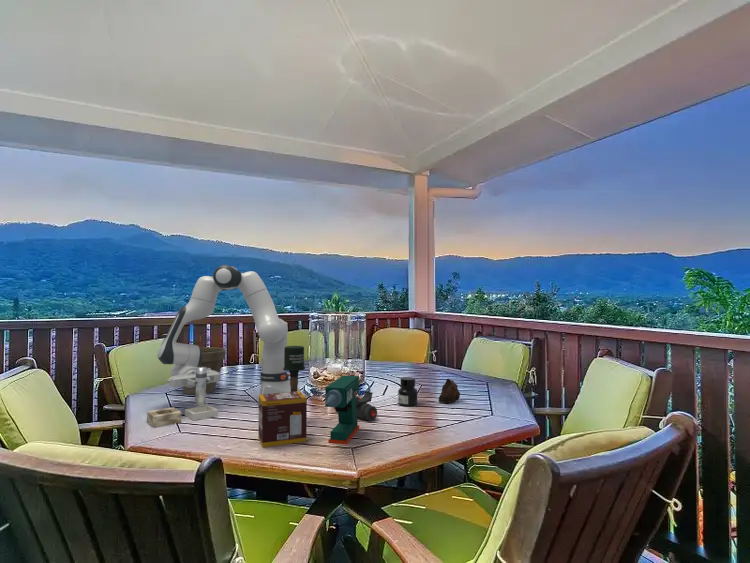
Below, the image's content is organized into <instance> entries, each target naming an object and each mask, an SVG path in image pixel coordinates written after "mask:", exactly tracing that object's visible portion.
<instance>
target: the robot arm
mask: <svg viewBox="0 0 750 563" xmlns="http://www.w3.org/2000/svg"><path fill="white" fill-rule="evenodd" d="M236 289H239V291H240V292H241V294H242V296H243V298H244V300H245V302H246V303H247V306H248V308H249V310H250V312H251V315H252V318H253V321H254V324H255V327H256V329H257V332H258V337H259V339H260V340H261V341H262V342H263V346H262V351H261V352H262V353H261V368H260V369H261V372H260V377H259V378H260V380H259V381H260V390H259V395H260V394H274V393H286V392H291V386H290V372H289V373H288V371H285V370H283V368H284V348H285V347H286V346H288V345H287V344H288V334H289V333H288V332H289V331H288V329H289V327H288V325H287V322H285V320H284V319H282V318H280V317H279V316H278V312H277V309H276V307H275V303H274V300H273V299H272V296H271V295H270V292H269V291H268V289H267V286H266V284H265V283H264V281H263V280H262V278H261V276H259V273H257V272H256V271H251V270H250V271H246V272H241V271H240V270H238V269H237V268H236V267H234V266H232V265H229V264H222V265H220V266H219V265H218V266H217V267H216V268H215V270H214V271H213V274H212V276H209V275H204V276H201V277H199V278H198V279H197V281H196V283H195V285H194V287H193V289H192V293H191V297H190V299H189V301H188V303H187V304H186V305H184V306H183V307H181V308H180V309H179V310H178V312H177V313H176V315H175V317H174V319H173V321H172V323H171V326H170V328H169V330H168V331H167V334H166V336H165V338H164V340H163V342H162V343H161V345H160V347H159V349H158V351H157V359H158V360H159V361H160V363H162V364H163V365H174V366H172V368H171V371H170V374H171V375H170V378H167V379H166V382H167V383H169V385H170V387H172V388H179V387H182V386H185V387H188V388H192V387H195V386H196V385H197V381H196V368H197V367H200V365H201V363H202V359H203V353H202V350H201V349H200V348H201V347H200V346H199V344H198V345H197V344H188V343H181V342H177V340H178V338H179V336H180V334H181V332H182V329H183V327H184V326H185V325H186V324H187V323H189V322H192V321H197V320H202V319H205V318H208V317H209V316H211V315H212V313H213V312H214V310H215V307H216V302H217V299H218V296H219V293H220V292H221V291H232V290H236ZM206 372H207V377H206V384H208V383H213V382H217V383H219V382H220V381H221V372H220V373H218V372H216V371H214V370H211V368H206ZM182 388H183V387H182ZM297 391H300V392H301V393H302V391H301V389H300V388H299V387H297ZM257 404H258V405H259V398H258V400H257Z"/></svg>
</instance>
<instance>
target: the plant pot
mask: <svg viewBox="0 0 750 563" xmlns="http://www.w3.org/2000/svg"><path fill="white" fill-rule="evenodd" d="M200 349H201V350H202V353H203V359H202V363H201V365H200V367H207V368H211V370H214V371H216V372H218V373H220V374H221V369H222V366H223V362H224V360H225V359H226V351H227V350H226V348H223V347H210V346H209V347H207V346H206V347H204V346H203V347H200ZM217 384H218V382H213V383H208V384H206V395H207V394H211V393H213V392H214V391H215V389H216V386H217ZM182 391H183V392H184V394H186V395H195V396H196V386H195V387H192V388H188V387H185V386H182Z"/></svg>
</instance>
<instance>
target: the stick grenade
mask: <svg viewBox="0 0 750 563" xmlns="http://www.w3.org/2000/svg"><path fill="white" fill-rule="evenodd" d="M283 370H285V371H286V372H289V373H290V376H289V380H290V386H291V392H296V391H297V387H298V386H299V373H300V372H301V371H304V370H306V367H305V347H304V346H303V345H287V346H286V347H285V348H284V368H283ZM298 388H299V387H298Z"/></svg>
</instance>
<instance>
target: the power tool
mask: <svg viewBox="0 0 750 563" xmlns="http://www.w3.org/2000/svg"><path fill="white" fill-rule="evenodd" d="M324 388H325V389H324V390H325V391H324V392H325V396H324V402H325V404H324V406H325V407H326V408H327V407H328V408H334V407H336V410H335V412H337V415H338V416H337V417H338V422H337V424H336V426H334V427H333V428H332V430H331V431H330V438H329V439H328V441H327V443H328V444H333V445H334V444H335V445H346V444H347V445H348V444H349V442H350V441H351V440H352V438H353V437H354V435H356V433H357V432H358V431H359V429H360V425H359V424H358V421H359V420H358V419H359V418H357V417H356V400H355V396H356V397H357V396H358V395H359V394H360V375H348V374H347V375H345V374H343V375H341V376H340V377H337V379H336V380H334V381H333V382H331V383H330V384H328V385H326V386H325V387H324Z"/></svg>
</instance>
